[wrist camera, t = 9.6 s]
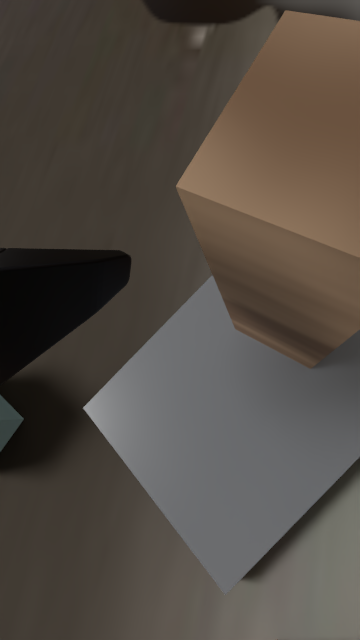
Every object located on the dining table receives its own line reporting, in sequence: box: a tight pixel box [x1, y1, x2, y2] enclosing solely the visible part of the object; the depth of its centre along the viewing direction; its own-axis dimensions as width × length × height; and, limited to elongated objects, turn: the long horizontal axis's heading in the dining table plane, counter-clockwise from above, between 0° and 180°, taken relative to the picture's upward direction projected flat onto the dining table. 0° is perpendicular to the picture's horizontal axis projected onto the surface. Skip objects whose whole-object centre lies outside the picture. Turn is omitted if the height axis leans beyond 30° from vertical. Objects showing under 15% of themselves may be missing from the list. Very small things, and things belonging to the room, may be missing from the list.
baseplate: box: [83, 275, 360, 595], centre depth 18 cm, size 16×12×2 cm
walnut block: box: [176, 11, 360, 369], centre depth 12 cm, size 4×4×13 cm
